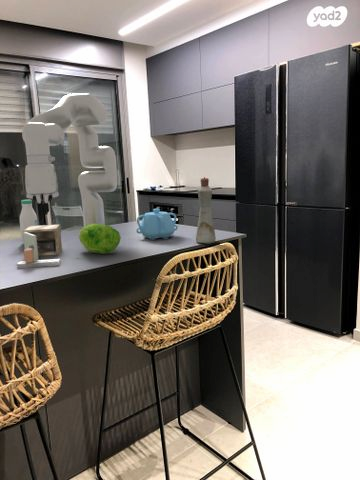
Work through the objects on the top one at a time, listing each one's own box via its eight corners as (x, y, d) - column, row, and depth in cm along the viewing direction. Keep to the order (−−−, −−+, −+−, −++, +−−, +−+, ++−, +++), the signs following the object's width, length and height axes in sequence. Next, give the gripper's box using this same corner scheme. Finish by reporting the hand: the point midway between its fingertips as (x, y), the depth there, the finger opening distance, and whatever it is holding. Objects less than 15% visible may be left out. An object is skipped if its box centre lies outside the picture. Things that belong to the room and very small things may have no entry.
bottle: (191, 243, 167) (190, 177, 162) (200, 239, 175) (199, 176, 169) (210, 245, 163) (209, 177, 158) (218, 241, 171) (218, 176, 165)
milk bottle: (34, 245, 174) (29, 200, 170) (18, 245, 176) (13, 200, 172) (43, 241, 182) (38, 198, 178) (28, 241, 183) (23, 199, 179)
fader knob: (34, 260, 140) (32, 247, 139) (32, 262, 137) (31, 249, 136) (27, 260, 139) (25, 248, 138) (25, 262, 136) (23, 249, 135)
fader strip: (60, 262, 142) (60, 258, 142) (58, 265, 138) (58, 261, 138) (20, 265, 140) (19, 261, 139) (17, 268, 136) (16, 264, 136)
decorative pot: (154, 233, 195) (153, 206, 192) (181, 235, 186) (180, 207, 183) (133, 239, 182) (131, 210, 179) (161, 242, 173) (159, 211, 170)
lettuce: (97, 246, 168) (95, 219, 166) (129, 254, 152) (127, 224, 149) (70, 251, 159) (68, 223, 157) (101, 260, 143) (99, 229, 141)
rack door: (38, 261, 144) (35, 234, 142) (32, 262, 142) (29, 235, 140) (27, 255, 153) (24, 230, 151) (21, 256, 152) (19, 231, 150)
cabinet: (62, 249, 165) (59, 224, 163) (58, 254, 155) (56, 228, 153) (32, 250, 163) (29, 226, 161) (27, 256, 153) (24, 230, 151)
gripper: (63, 159, 137) (68, 211, 141) (18, 161, 135) (24, 214, 139) (60, 160, 130) (65, 214, 134) (13, 161, 127) (19, 217, 131)
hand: (44, 214), depth 136 cm, fingers closed
